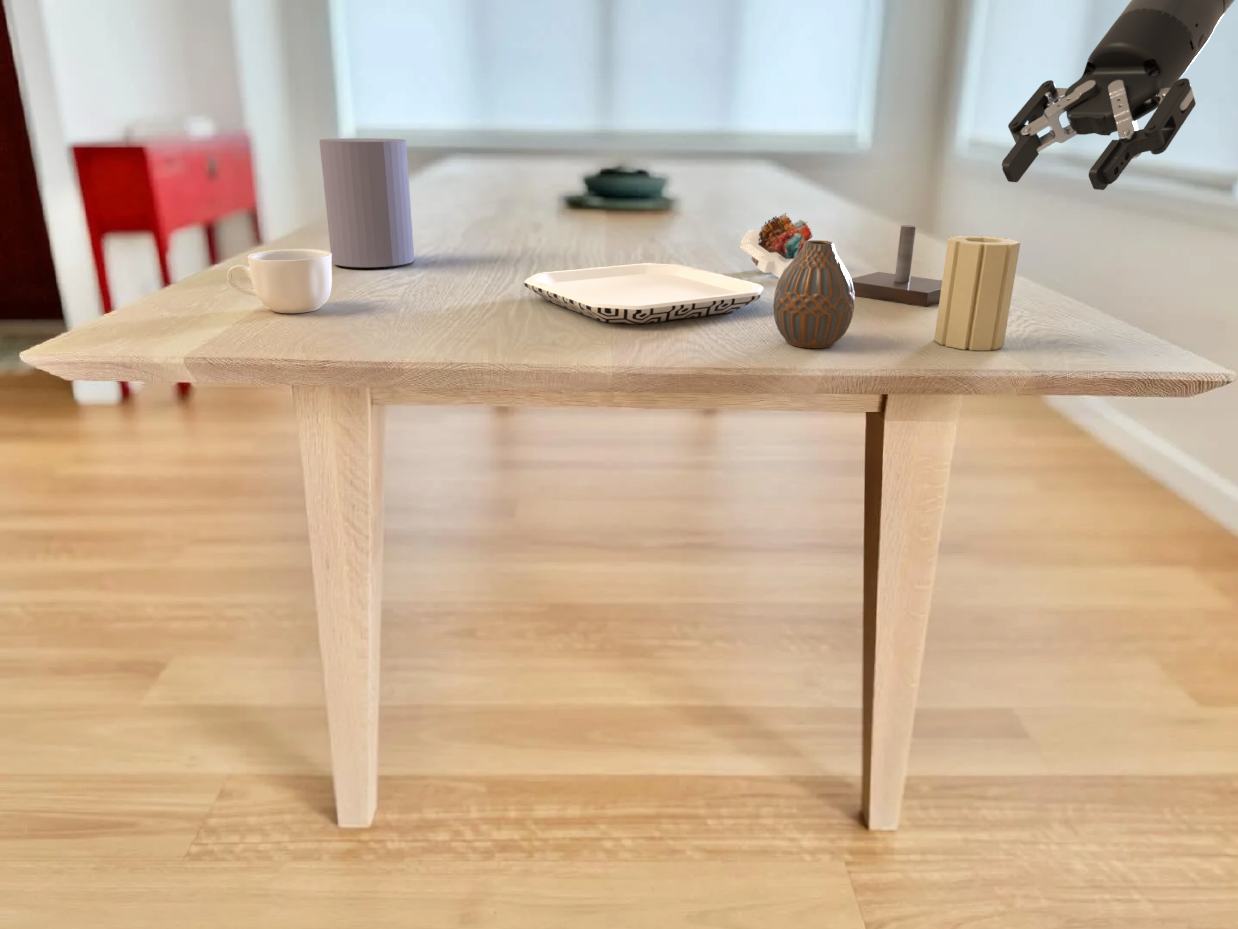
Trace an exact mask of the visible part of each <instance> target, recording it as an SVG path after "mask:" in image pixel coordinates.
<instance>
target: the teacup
mask: <svg viewBox="0 0 1238 929" xmlns="http://www.w3.org/2000/svg"><path fill="white" fill-rule="evenodd" d="M247 262H248V265H244V264H236V265H235V264H234V265H233V266H231V267H230V268H229V269H228V271H227V274H226V280H227V282H228V285H229V286H230V287H231V288H232V289H234V290H235V291H237V292H239V293H241V294H245V295H249V296H253V297H256V298H258V299H259V301H260V302H261V303H262V304H263V305H264V306H265V307H266V308H268V309H269V310H271V311H273V312H275V313H278V314H303V313H309V312H310V313H311V312H314V311H317V310H319V309H320V308H321V307H323V306H324V305H325V304H326V303H327V301H328V300H329V298H330V296H331V293H332V287H333V286H332V285H333V269H332V268H333V266H332V264H333V263H332V254H331V251H329V250H325V249H317V248H288V249H287V248H284V249H272V250H263V251H258V252H253V253H250V254H248V255H247ZM235 271H240V272H242V273H244V274H245V275H246V276H247V277H248V279H249V280H250V281H251V283H252V287H253V288H245V287H241V286H239V285H237V284H236V283H235V282H234V281H233V274H234V273H233V272H235Z"/></svg>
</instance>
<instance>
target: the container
mask: <svg viewBox="0 0 1238 929" xmlns="http://www.w3.org/2000/svg"><path fill="white" fill-rule="evenodd" d="M319 150H320V159H321V161H320V162H321V170H322V180H323V187H324V188H323V189H324V190H323V191H324V200H325V209H326V218H327V220H326V221H327V230H328V239H329V247H330V252H331V254H332V264H333V265H336V266H337V267H339V268H343V269H351V270H386V269H395V268H401V267H405V266H408V265H410V264H411V263H413V262H414V261H415V252H414V236H413V220H412V207H411V206H412V205H411V192H410V178H409V176H410V175H409V164H408V163H409V162H408V150H407V139H401V138H378V137H377V138H375V137H373V138H368V137H367V138H365V137H363V138H362V137H357V138H353V137H351V138H347V137H346V138H322V139H319Z"/></svg>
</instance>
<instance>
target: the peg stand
mask: <svg viewBox="0 0 1238 929" xmlns="http://www.w3.org/2000/svg"><path fill="white" fill-rule="evenodd" d="M916 231H917V225H913V224H902V225H900V230H899V239H898V247H897V254H896V255H897V257H896V261H895V262H896V264H895V272H894V273H891V272H883V271H877V272H872V273H868V274H864V275H860V276H855V277H851V279H852V282H853V286H854V293H855V297H861V298H868V299H873V300H879V301H880V300H881V301H887V302H893V303H897V304H898V303H899V304H906V305H912V306H917V307H924V308H927V307H929V306H933V305H936V304H939V301H940V294H941V287H942V280H943V279H936V278H935V279H934V278H927V277H919V276H912V275H911V271H912V265H913V264H912V263H913V255H914V248H915V240H916Z"/></svg>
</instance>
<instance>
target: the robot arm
mask: <svg viewBox="0 0 1238 929" xmlns="http://www.w3.org/2000/svg"><path fill="white" fill-rule="evenodd" d="M1234 2H1235V0H1130V1H1129V3H1128V4H1127V5H1126V7H1125V9H1124V10H1123V11H1122V12H1121V14H1120V15H1119V16H1118V17H1117V19H1116V20H1115V21H1114V23H1113V24H1112V26H1110V28H1109V29H1108V31H1107V32H1106V33H1105V35H1104V36H1103V37H1102V38H1101V40H1100V41H1099V42H1098V44H1097V45H1096V46H1095V48H1094V49H1093V50H1092V52H1091V53H1090V55H1089V57H1088V58H1087V61H1086V64H1085V67H1084V71H1083V73H1082V76H1081V77H1080V78H1079V79H1077V80H1076V81H1075V82H1074V83H1072V84H1071V85H1070V86H1068V87H1066V88H1065V87H1056V84H1055V82H1054V80H1052V79H1050V80H1046V81H1044V82H1042V84H1041V85H1040V86H1039V87H1038V88H1037V89H1036V90H1035V91H1034V93H1033V94H1032V95H1031V97H1030V98H1029V99H1028V100H1027V101H1026V102H1025V104H1024V105H1023V106H1022V107H1021V109H1019V111H1018V112H1017V113H1016V114H1015V116H1014V117H1013V118H1012V119H1011V120H1010V122H1008V125H1007V127H1008V130H1009V132H1010V134H1011V136H1012V138H1013V141H1014V143H1015V144H1014V146H1012V148H1011V149H1010V151H1009V152H1008V153H1007V155H1006V156H1005V157H1004V158H1003V160H1002V163H1001V166H1002V167H1001V169H1002V172H1003V174H1004V176H1005V178H1006V180H1007V182H1009V183H1018V182H1019V181H1020V180H1021V179H1022V177H1023V176H1024V175H1025V173H1026V171H1028V170H1029V168H1030V167H1031V166H1032V164H1033V163H1034V161H1035V160H1036V158H1037V157H1038V156H1039V155H1040V154H1039V152H1041V151H1043V150H1044V149H1046V148H1048V147H1049V146H1050V147H1051V145H1053V144H1054V143H1059V144H1063V143H1065V142H1067V141H1068V140H1070V139H1072V138H1074V137H1076V136H1078V135H1081V136H1082V135H1083V136H1084V135H1085V136H1086V135H1093V134H1096V135H1099V136H1108V137H1109V136H1111V134H1112V133H1116V132H1117V135H1118V137H1119V138H1118V139H1111V140H1110V142H1109V143H1108V145H1107V146H1106V147H1105V149H1104V150H1103V151H1102V153H1101V154H1100V155H1099V157H1098V158H1097V160H1096V161H1095V162H1094V163H1093V165H1092V166H1091V167H1090V169H1089V171H1088V179H1089V181H1090V184H1091V185H1092V189H1094V190H1097V191H1104V190H1106V188H1108V186H1109V185H1112V184H1113V183H1114V182H1116V181H1117V180H1118V179H1119V177H1120V176H1121V174H1122V173H1123V171H1124V170H1125V169H1126V168H1127V166H1128V165H1129V163H1130V162H1131V161H1132V160H1135V159H1137V158H1138V157H1140V156H1141V155H1142V153H1146V152H1150V153H1151V154H1152V155H1155V156H1157V155H1160V154H1162V153H1164V152H1165V151H1166V150H1167V149H1168V147H1169V146H1170V145H1171V143H1172V141H1173V140H1174V138H1175V137H1176V135H1177V134H1178V132H1179V131H1180V129H1181V128H1182V126H1183V125H1184V123H1185V122H1186V120H1187V119H1188V117H1189V116H1190V114H1191V113H1192V111H1193V110H1194V108H1195V107H1196V99H1195V94H1194V92H1193V88H1192V85H1191V82H1190V79H1189V78H1186V77H1183V75H1184V74H1185V73H1186V72H1187V70H1188V69H1189V67H1190V66H1191V65H1192V63H1193V62H1194V61H1195V59H1196V58H1197V56H1198V55H1199V54H1200V53H1201V51H1202V50H1203V49H1204V47H1205V46H1206V45H1207V43H1208V42H1209V40H1210V39H1211V37H1212V35H1213V33H1214V31H1215V29H1216V27H1217V25H1218V24H1219V23H1220V21H1221V19H1222V18H1223V17H1224V15H1225V14H1226V13H1227V11H1228V10H1229V8H1230V7H1231V6H1232V5H1233V3H1234ZM1182 77H1183V78H1182ZM1152 112H1153V114H1152V115H1151V117H1150V118H1149V119H1148V122H1147V123H1146V124H1145V126H1144V127H1143V128H1141V129H1139V128H1138V127H1139V126H1138V123H1137V121H1138V120H1140V119H1142V118H1143V117H1145V116H1146V115H1148V114H1150V113H1152ZM1064 113H1066V118H1067V121H1068V123H1069V124H1068V125H1067V126H1064V127H1062V124H1061V121H1060V116H1062V115H1063V114H1064ZM1026 123H1027V124H1026ZM1048 127H1049V128H1050V129H1049V131H1048V132H1047V133H1045V134H1043V135H1042V136H1040V135H1039V134H1038V133H1039V132H1041V131H1043V130H1045V129H1046V128H1048Z"/></svg>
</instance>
